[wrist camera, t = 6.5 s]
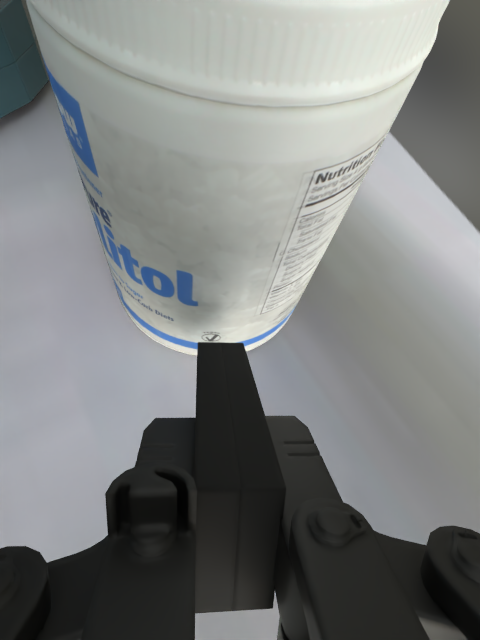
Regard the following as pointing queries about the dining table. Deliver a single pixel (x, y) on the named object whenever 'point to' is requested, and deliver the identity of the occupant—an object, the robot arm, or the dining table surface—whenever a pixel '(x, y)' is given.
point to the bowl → (19, 57)
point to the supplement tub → (225, 142)
